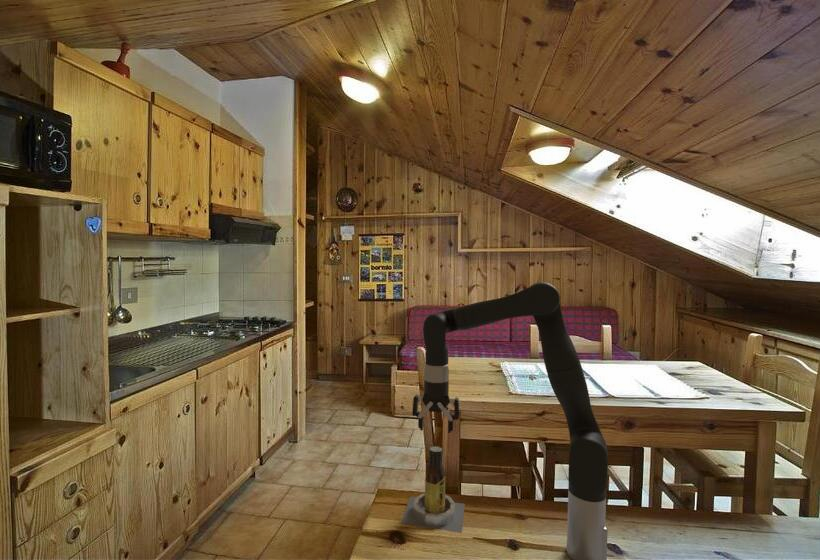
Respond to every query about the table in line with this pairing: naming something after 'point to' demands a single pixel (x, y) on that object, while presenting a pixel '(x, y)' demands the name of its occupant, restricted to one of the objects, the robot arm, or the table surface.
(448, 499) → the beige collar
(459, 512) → the charcoal base
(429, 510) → the sauce bottle
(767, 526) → the table surface
